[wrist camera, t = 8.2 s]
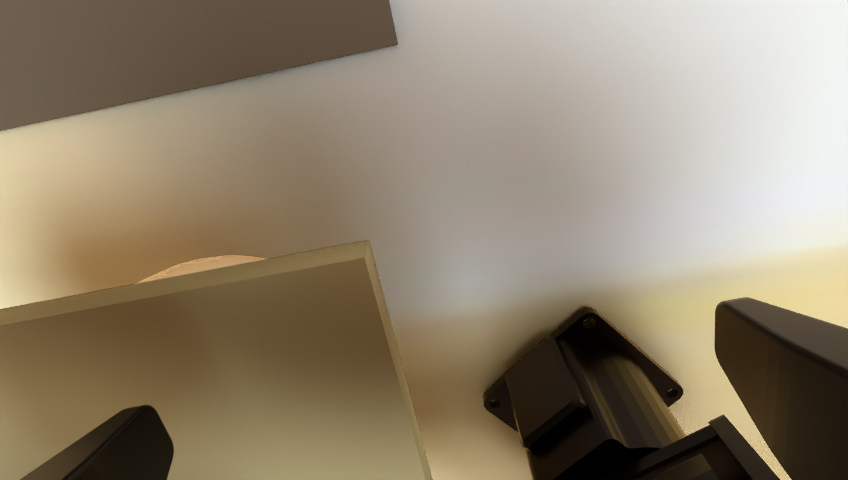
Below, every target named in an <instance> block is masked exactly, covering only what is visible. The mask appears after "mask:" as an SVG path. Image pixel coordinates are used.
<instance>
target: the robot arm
mask: <svg viewBox="0 0 848 480" xmlns="http://www.w3.org/2000/svg"><path fill="white" fill-rule="evenodd" d="M587 318H592V320H591V321H590V322H589V323H583V322H584V320H585V319H587ZM715 353H716V356H717V359H718V362H719V364H720V365H721V367H722V369H723V370H724V372H725V374H726V376H727V377H728V379H729V381H730V382H731V384H732V386H733V387H734V389H735V391H736V393H737V394H738V396H739V398H740V399H741V401H742V403H743V405H744V406H745V408H746V410H747V411H748V413H749V415H750V416H751V418H752V420H753V422H754V423H755V425H756V427H757V428H758V430H759V432H760V433H761V435H762V437H763V438H764V440H765V442H766V443H767V445H768V446H769V448H770V450H771V451H772V453H773V454H774V456H775V457H776V458H777V460H778V461H779V463H780V464H781V466H782V467H783V468H784V470H785V471H786V472H787V474H788V475H789V477H790V478H791V479H792V480H848V329H847V328H844V327H841V326H838V325H835V324H831V323H828V322H825V321H822V320H819V319H815V318H812V317H809V316H806V315H803V314H800V313H796V312H793V311H790V310H787V309H784V308H780V307H777V306H774V305H771V304H768V303H764V302H761V301H758V300H755V299H752V298H746V297H744V298H738V299H733V300H727V301H722V302H720V303H719V304H718V305H717V307H716V311H715ZM670 389H672V390H671V391H669V392H667V391H668V390H670ZM682 394H683V389H682V387H681V386H680V384H679V383H678V382H677V380H675V379H674V378H673V377H672V376H671V375H670V374H669V373H667V372H666V371H665V370H664V369H663V368H662V367H660V366H659V365H658V364H657V363H656V362H655V361H653V360H652V359H651V358H650V357H649V356H648V355H647V354H645V353H644V352H643V351H642V350H641V349H640V348H638V347H637V346H636V345H635V344H634V343H633V342H632V341H630V340H629V339H628V338H627V337H626V336H625V335H623V334H622V333H621V332H620V331H619V330H618V329H616V328H615V327H614V326H613V325H612V324H611V323H610V322H608V321H607V320H606V319H605V318H604V317H603V316H601V315H600V314H599V313H598V312H597V311H596V310H594V309H592V308H584V309H581V310H580V311H578V312H577V313H576V314H575V315H573V316H572V317H571V318H570V319H569V320H568V321H566V322H565V323H564V324H563V325H562V326H561V327H560V328H558V329H557V330H556V331H555V332H554V333H553V334H551V335H550V336H549V337H547V338H545V339H544V340H542V341H541V342H540V343H539V344H538V345H537V346H536V347H534V348H533V349H532V350H531V351H530V352H529V353H527V354H526V355H525V356H524V357H523V358H522V359H521V360H519V361H518V362H517V363H516V364H515V365H514V366H512V367H511V368H510V369H509V370H508V371H507V372H506V374H505V375H504V376H503V377H502V378H501V379H500V380H498V381H497V382H496V383H495V384H494V385H493V386H491V387H490V388H489V389H488V390H487V391H486V392H485V393H484V394H483V402H484V407H485V408H486V409H487V410H488V411H489V412H491V413H492V414H493V415H495V416H496V417H497V418H499V419H500V420H502V421H503V422H504V423H506V424H507V425H509V426H510V427H511V428H513V429H514V430H516V431H517V432H518V433H519V437H520V441H521V445H522V446H523V447H524V448H525V451H526V455H527V459H528V463H529V467H530V471H531V475H532V479H533V480H780V479H779V478H778V477H777V476H776V474H775V473H774V472H773V471H772V470H771V469H770V468H769V466H768V465H767V464H766V463H765V462H764V461H763V459H762V458H761V457H760V456H759V455H758V454H757V452H756V451H755V450H754V449H753V448H752V447H751V446H750V444H749V443H748V442H747V441H746V440H745V439H744V437H743V436H742V435H741V434H740V433H739V432H738V431H737V429H736V428H735V427H734V426H733V425H732V424H731V422H730V421H729V420H728V419H727V418H726V417H725V416H724V415H722V416H719V417H717V418H715V419H713V420H711V421H709V422H708V423H709V424H710V425H709V426H706V427H704V428H702V429H700V430H698V431H696V432H694V433H692V434H690V435H688V436H686V435H685V433H684V432H683V430H682V429H681V427H680V426H679V424H678V423H677V421H676V419H675V418H674V416H673V415H672V413H671V412H670V410H669V409H668V407H669V406H670V405H672V404H673V403H675V402H676V401H677V400H679V399H680V398H681V397H682ZM492 399H498V400H497V401H495V402H492V401H491V400H492ZM173 456H174V446H173V442H172V439H171V437H170V435H169V433H168V432H167V430H166V428H165V426H164V424H163V422H162V420H161V418H160V416H159V414H158V412H157V411H156V409H155V408H154V407H152V406H150V405H141V406H136V407H130V408H126V409H123V410H121V411H120V412H118V413H117V414H115V415H114V416H112V417H111V418H109V419H108V420H106V421H105V422H103V423H102V424H101V425H99V426H98V427H96V428H95V429H93V430H92V431H90V432H89V433H87V434H86V435H84V436H83V437H81V438H80V439H78V440H77V441H76V442H74V443H73V444H71V445H70V446H68V447H67V448H65V449H64V450H62V451H61V452H59V453H58V454H56V455H55V456H53V457H52V458H51V459H49V460H48V461H46V462H45V463H43V464H42V465H40V466H39V467H37V468H36V469H34V470H33V471H31V472H30V473H28V474H27V475H26V476H24V477H23V478H21V479H20V480H167V478H168V474H169V471H170V467H171V464H172V460H173Z"/></svg>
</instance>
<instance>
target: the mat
mask: <svg viewBox="0 0 848 480" xmlns="http://www.w3.org/2000/svg"><path fill="white" fill-rule="evenodd" d="M397 44H398V42H397V38H396V33H395V28H394V23H393V18H392V14H391V9H390V4H389V0H0V131H1V130H6V129H11V128H15V127H20V126H24V125H29V124H34V123H38V122H43V121H47V120H52V119H57V118H61V117H66V116H70V115H75V114H80V113H84V112H89V111H93V110H98V109H103V108H107V107H112V106H116V105H121V104H126V103H130V102H135V101H140V100H144V99H149V98H153V97H158V96H163V95H167V94H172V93H176V92H181V91H186V90H190V89H195V88H199V87H204V86H209V85H213V84H218V83H222V82H227V81H232V80H236V79H241V78H245V77H250V76H255V75H259V74H264V73H268V72H273V71H278V70H282V69H287V68H291V67H296V66H301V65H305V64H310V63H314V62H319V61H324V60H328V59H333V58H337V57H342V56H347V55H351V54H356V53H360V52H365V51H370V50H374V49H379V48H383V47H388V46H393V45H397Z"/></svg>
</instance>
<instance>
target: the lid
mask: <svg viewBox="0 0 848 480" xmlns="http://www.w3.org/2000/svg"><path fill="white" fill-rule="evenodd" d="M141 405H150V406H152V407H154V408H155V409H156V411H157V412H158V414H159V416H160V418H161V420H162V422H163V424H164V426H165V428H166V430H167V432H168V433H169V435H170V437H171V439H172V442H173V446H174V456H173V460H172V464H171V467H170V471H169V474H168V478H167V480H433V479H432V475H431V472H430V468H429V464H428V460H427V457H426V453H425V449H424V445H423V442H422V438H421V434H420V430H419V427H418V423H417V419H416V415H415V412H414V408H413V404H412V400H411V396H410V393H409V389H408V385H407V381H406V378H405V374H404V370H403V366H402V363H401V359H400V355H399V351H398V348H397V344H396V340H395V336H394V333H393V329H392V325H391V321H390V318H389V314H388V310H387V306H386V303H385V299H384V295H383V291H382V287H381V284H380V280H379V276H378V272H377V269H376V265H375V261H374V257H373V254H372V250H371V246H370V242H369V240H365V241H360V242H354V243H349V244H344V245H338V246H333V247H328V248H323V249H317V250H312V251H307V252H301V253H296V254H291V255H285V256H280V257H275V258H270V259H264V260H259V261H254V262H248V263H243V264H238V265H232V266H227V267H222V268H216V269H211V270H206V271H201V272H195V273H190V274H185V275H179V276H174V277H169V278H163V279H158V280H153V281H148V282H142V283H137V284H132V285H126V286H121V287H116V288H110V289H105V290H100V291H94V292H89V293H84V294H79V295H73V296H68V297H63V298H57V299H52V300H47V301H41V302H36V303H31V304H26V305H20V306H15V307H10V308H4V309H0V480H20V479H21V478H23V477H24V476H26V475H27V474H28V473H30V472H31V471H33V470H34V469H36V468H37V467H39V466H40V465H42V464H43V463H45V462H46V461H48V460H49V459H51V458H52V457H53V456H55V455H56V454H58V453H59V452H61V451H62V450H64V449H65V448H67V447H68V446H70V445H71V444H73V443H74V442H76V441H77V440H78V439H80V438H81V437H83V436H84V435H86V434H87V433H89V432H90V431H92V430H93V429H95V428H96V427H98V426H99V425H101V424H102V423H103V422H105V421H106V420H108V419H109V418H111V417H112V416H114V415H115V414H117V413H118V412H120V411H121V410H123V409H126V408H130V407H136V406H141Z"/></svg>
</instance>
